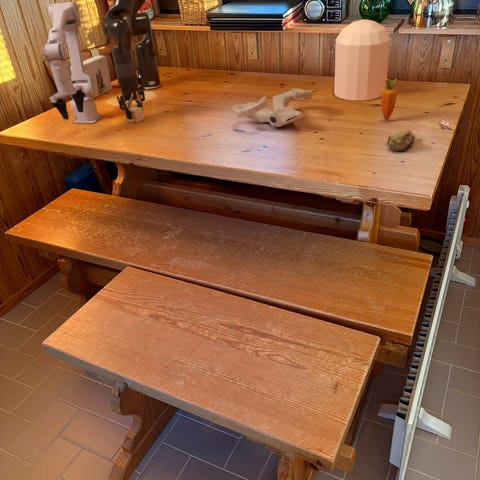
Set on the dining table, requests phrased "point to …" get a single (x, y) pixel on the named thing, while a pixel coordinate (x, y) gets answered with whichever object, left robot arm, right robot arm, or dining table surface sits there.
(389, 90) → the carrot
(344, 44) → the container
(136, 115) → the pale beige block
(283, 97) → the animal horns
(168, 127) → the dining table surface
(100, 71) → the skincare box
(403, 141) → the rock
